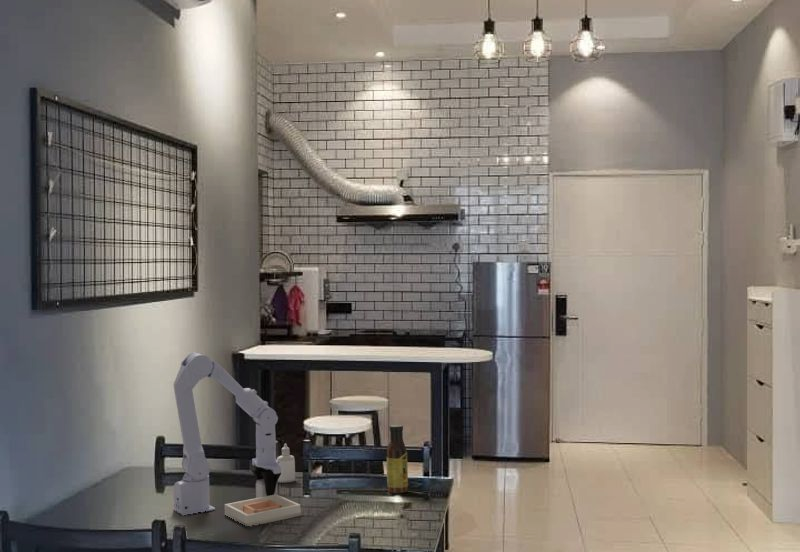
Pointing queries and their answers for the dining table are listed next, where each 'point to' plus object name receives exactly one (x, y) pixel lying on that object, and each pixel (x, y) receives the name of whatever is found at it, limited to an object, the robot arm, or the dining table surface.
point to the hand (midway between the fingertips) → (266, 493)
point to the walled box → (262, 510)
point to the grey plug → (262, 489)
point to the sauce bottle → (397, 461)
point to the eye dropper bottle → (286, 466)
